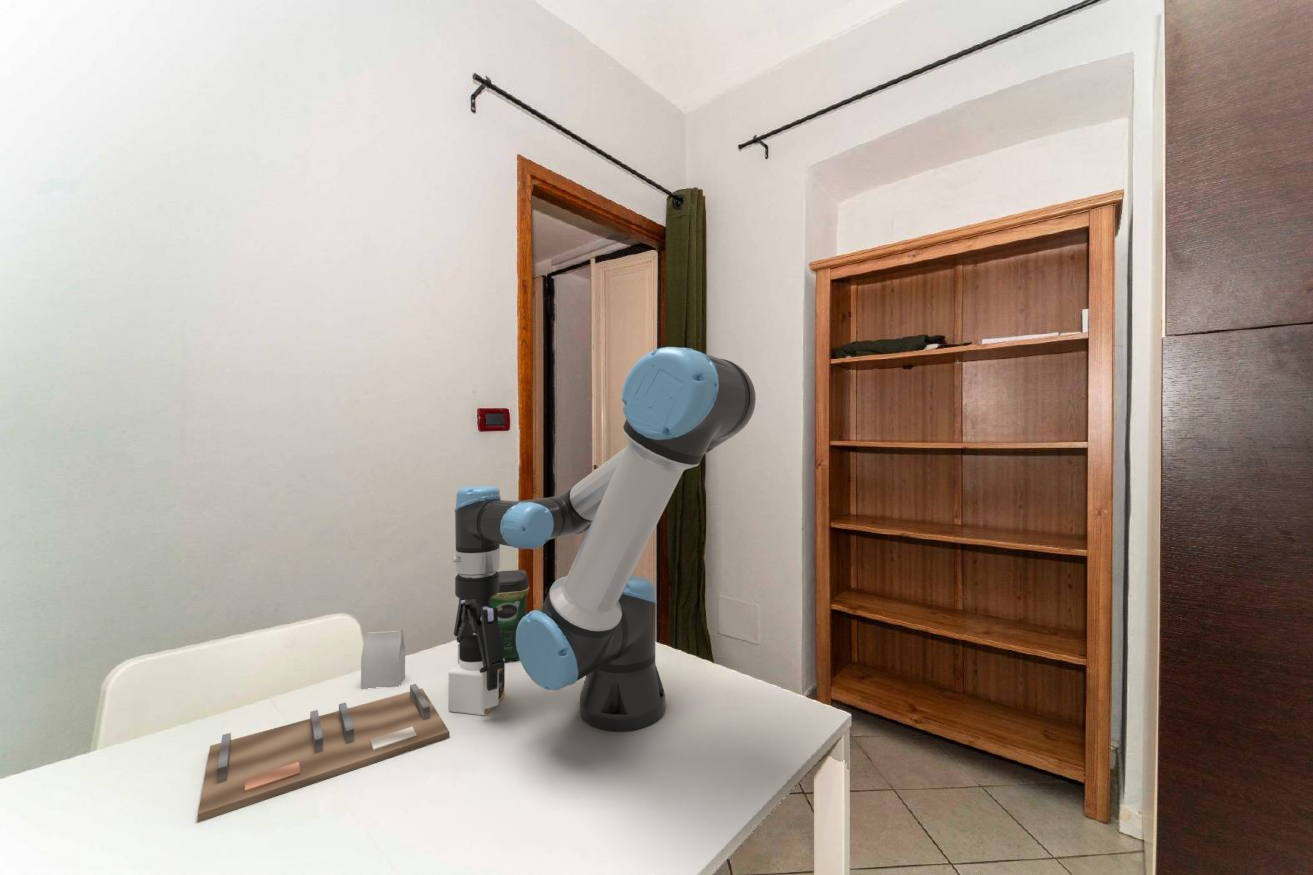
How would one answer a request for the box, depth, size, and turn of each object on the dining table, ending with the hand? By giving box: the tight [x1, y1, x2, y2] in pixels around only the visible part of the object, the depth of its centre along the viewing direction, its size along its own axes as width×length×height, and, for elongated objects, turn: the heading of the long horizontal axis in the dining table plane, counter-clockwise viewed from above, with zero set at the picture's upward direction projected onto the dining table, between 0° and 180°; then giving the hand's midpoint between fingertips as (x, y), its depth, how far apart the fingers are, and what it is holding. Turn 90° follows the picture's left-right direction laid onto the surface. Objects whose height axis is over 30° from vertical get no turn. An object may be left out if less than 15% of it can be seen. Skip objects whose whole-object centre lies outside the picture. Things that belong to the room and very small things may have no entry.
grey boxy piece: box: [360, 630, 406, 690], centre depth 100 cm, size 4×7×10 cm, turn 99°
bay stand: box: [197, 683, 450, 823], centre depth 80 cm, size 18×30×3 cm, turn 127°
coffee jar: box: [489, 569, 530, 662], centre depth 113 cm, size 10×8×19 cm
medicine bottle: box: [447, 633, 506, 716], centre depth 93 cm, size 7×7×12 cm
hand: (476, 691), depth 93 cm, fingers open, 13 cm apart
